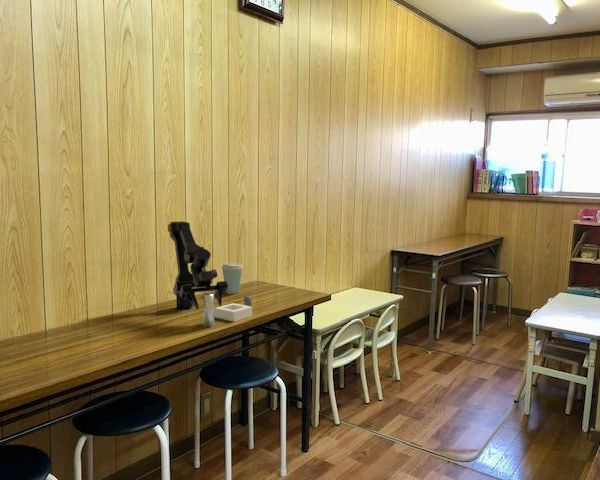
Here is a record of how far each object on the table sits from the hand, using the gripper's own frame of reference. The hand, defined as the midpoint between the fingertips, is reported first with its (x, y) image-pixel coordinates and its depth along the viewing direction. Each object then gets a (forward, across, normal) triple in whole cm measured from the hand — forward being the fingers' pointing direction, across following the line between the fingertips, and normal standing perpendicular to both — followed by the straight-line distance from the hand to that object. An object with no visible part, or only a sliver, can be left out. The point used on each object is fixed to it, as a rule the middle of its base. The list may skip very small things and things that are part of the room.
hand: (209, 307), depth 207 cm
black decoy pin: (-6, +23, +16) cm, 29 cm away
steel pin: (+5, 0, +6) cm, 8 cm away
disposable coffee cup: (-32, +30, +42) cm, 61 cm away
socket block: (-1, +13, +11) cm, 17 cm away
